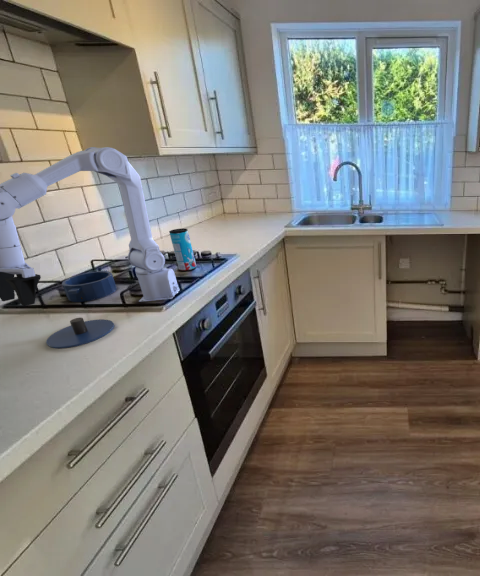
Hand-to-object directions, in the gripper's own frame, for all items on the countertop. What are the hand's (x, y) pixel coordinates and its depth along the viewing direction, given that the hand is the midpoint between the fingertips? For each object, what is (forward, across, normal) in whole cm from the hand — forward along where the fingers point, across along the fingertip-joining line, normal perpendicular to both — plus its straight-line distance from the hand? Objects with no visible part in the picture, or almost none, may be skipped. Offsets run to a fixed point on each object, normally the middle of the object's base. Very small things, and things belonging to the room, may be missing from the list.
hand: (18, 302), depth 86 cm
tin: (+8, -16, +26) cm, 31 cm away
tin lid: (+9, +10, +6) cm, 15 cm away
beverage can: (+4, -4, +52) cm, 53 cm away
